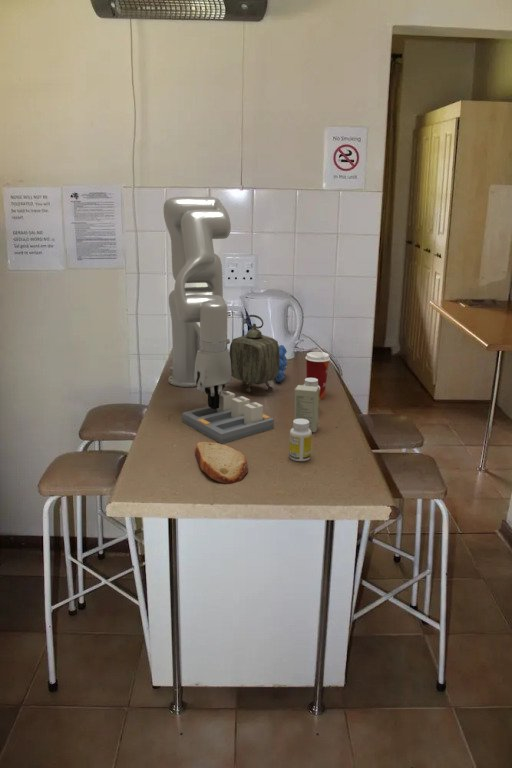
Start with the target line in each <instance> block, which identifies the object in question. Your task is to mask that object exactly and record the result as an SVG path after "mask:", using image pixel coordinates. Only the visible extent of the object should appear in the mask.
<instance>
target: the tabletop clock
mask: <svg viewBox="0 0 512 768" xmlns="http://www.w3.org/2000/svg"><path fill="white" fill-rule="evenodd" d="M249 318H256V319H259V320H260V322H261V325H259V326H257V324H256V323H253V324H252V325H251V324H250V323H248V319H249ZM245 324H246V325H247V326H248V327H249V328H251V329H248V330H247V332H246V334H245V335H241V336H238V337H236V338H233V339H232V340H231V341H230V346H229V353H230V360H231V378H234V379H236V380H239V381H242V385H243V386H246V385H247V384H248V387H247V388H246V389H245V390H246V392H247V393H251V392H252V388H251V386H252V385H265V386H266V387H267V388H268V390H267V391H268V392H270V393H271V392H273V391H274V387H272V386H270V384H269V382H271V381H273V380H276V379H275V378H276V377H277V375H278V371H279V362H280V354H279V346H280V345H279V342H278V340H277V339H275V338H273V337H271V336H268V335H264V334H262V331H261V330H260V329H261V328H263V326H264V320H263V319H262V317H261V316H259V315H256V314H249V315H247V316H246V318H245Z"/></svg>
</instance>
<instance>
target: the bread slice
mask: <svg viewBox="0 0 512 768" xmlns="http://www.w3.org/2000/svg"><path fill="white" fill-rule="evenodd" d="M194 455H195V458H196V460H197V463H198V465H199V467H200V469H201V471H202V472H203V473H205V474H206V475H207V476H208V477H209V478H210V479H212V480H214V481H216V482H218V483H221V484H225V485H231V484H235V483H238V482H241V481H242V480H243V478H244V477H245V476H246V474H247V473H248V472H249V464H248V461H247V458H246V456H245V455H244V454H243V453H242V452H241V451H239V450H236V449H234V448H232V447H231V446H228V445H225V444H223V443H222V444H221V443H219V442H213V441H200V442H197V443H196V447H195V450H194Z"/></svg>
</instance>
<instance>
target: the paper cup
mask: <svg viewBox="0 0 512 768" xmlns="http://www.w3.org/2000/svg"><path fill="white" fill-rule="evenodd" d="M305 360H306V364H305V365H306V378H316V379H318V385H319V386H320V400H322V399H325V395H326V389H327V388H326V387H327V381H328V379H327V378H328V371H329V361H331V358H330V355H329V353H327V352H324V351H310V352H307V353H306V356H305Z"/></svg>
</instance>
